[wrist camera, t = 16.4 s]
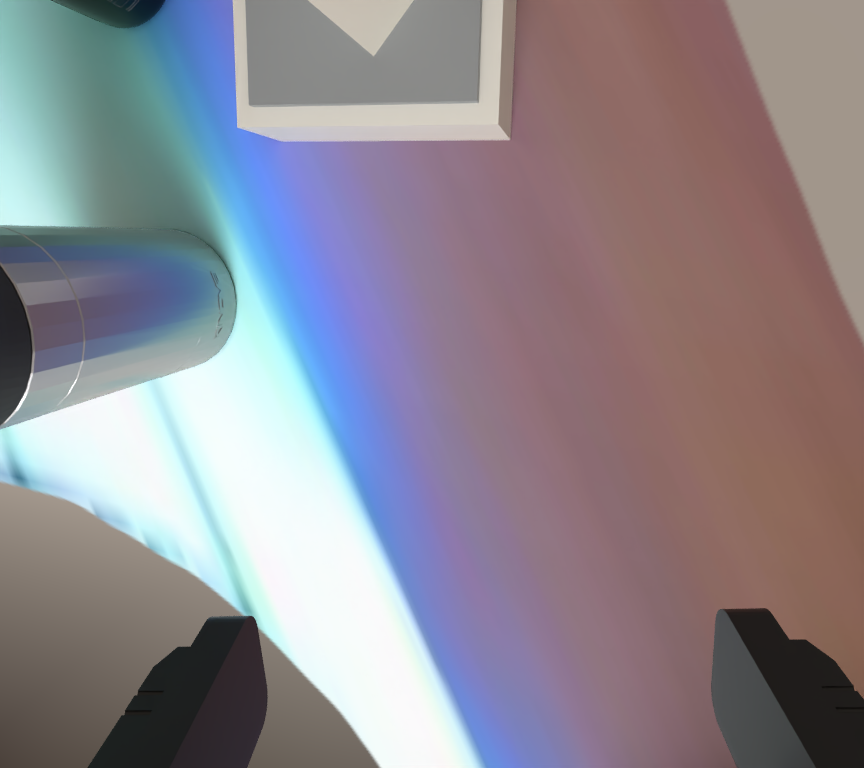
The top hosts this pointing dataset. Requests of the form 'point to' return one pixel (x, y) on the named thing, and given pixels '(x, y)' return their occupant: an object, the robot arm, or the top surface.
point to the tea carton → (365, 18)
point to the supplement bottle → (115, 10)
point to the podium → (376, 73)
